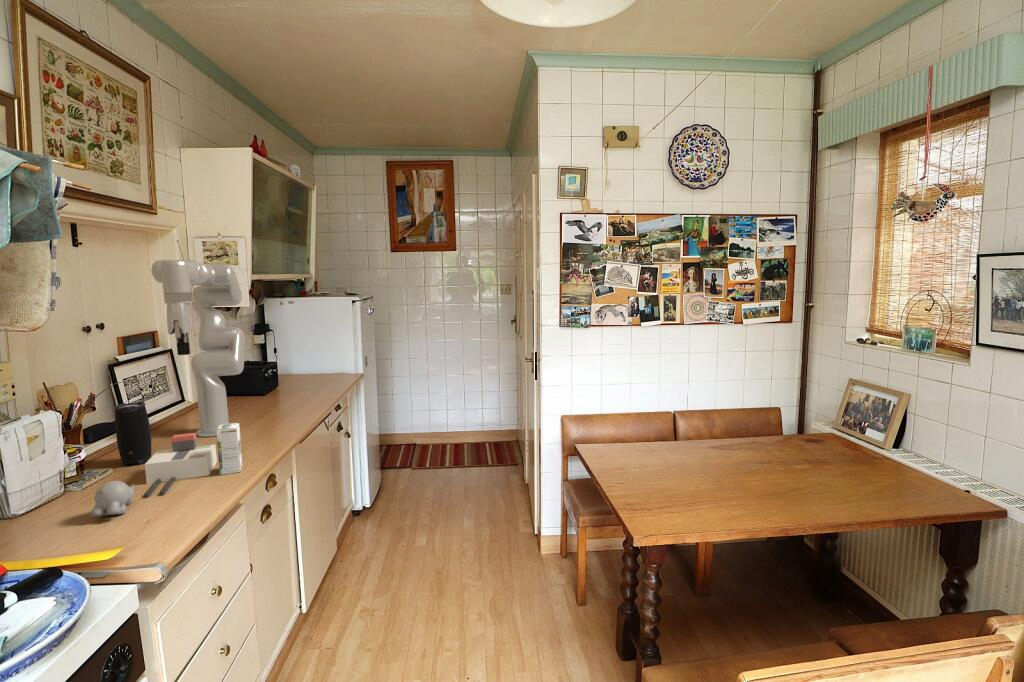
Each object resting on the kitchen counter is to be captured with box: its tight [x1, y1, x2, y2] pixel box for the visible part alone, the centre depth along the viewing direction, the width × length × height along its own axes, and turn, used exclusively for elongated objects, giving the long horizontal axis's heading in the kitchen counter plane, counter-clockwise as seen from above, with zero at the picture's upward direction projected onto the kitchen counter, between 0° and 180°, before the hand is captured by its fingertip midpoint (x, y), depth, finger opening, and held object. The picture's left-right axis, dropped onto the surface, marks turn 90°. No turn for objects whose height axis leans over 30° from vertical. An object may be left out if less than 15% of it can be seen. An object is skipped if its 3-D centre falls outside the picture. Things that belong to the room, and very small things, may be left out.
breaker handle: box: [170, 432, 198, 451], centre depth 158 cm, size 3×6×4 cm, turn 110°
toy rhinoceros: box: [90, 480, 135, 517], centre depth 130 cm, size 7×12×8 cm, turn 6°
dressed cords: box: [144, 477, 176, 498], centre depth 143 cm, size 11×5×1 cm, turn 20°
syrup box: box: [216, 422, 243, 476], centre depth 155 cm, size 6×6×14 cm
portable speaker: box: [114, 401, 152, 467], centre depth 163 cm, size 9×9×20 cm
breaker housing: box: [144, 443, 218, 485], centre depth 155 cm, size 12×16×6 cm
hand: (184, 354), depth 163 cm, fingers closed
